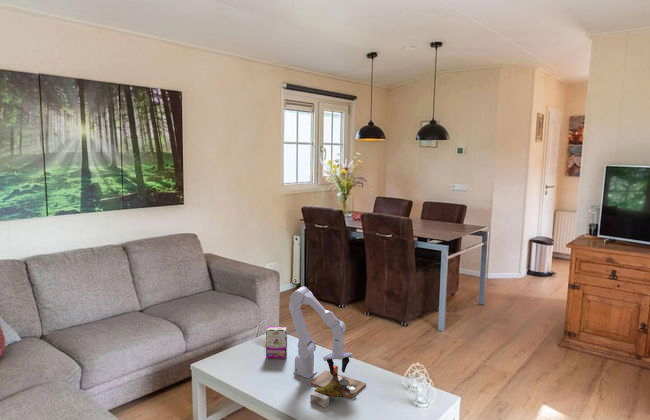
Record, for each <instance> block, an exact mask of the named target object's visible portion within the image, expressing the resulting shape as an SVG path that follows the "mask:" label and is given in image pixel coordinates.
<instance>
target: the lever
mask: <svg viewBox="0 0 650 420" xmlns="http://www.w3.org/2000/svg"><path fill="white" fill-rule="evenodd" d="M338 374H339V366H337V364H336V365H333V374H332V375H333V378H334V379H335V380H336V381H337V382H338V383H340V384H341V385H342V386H343V388H345V389H346V390H347V391H348V393H350V394H353V393H356V389H355V388H354V387H351V386H350V385H349V381H348V380H346V379H342V378H341V377H339V376H338Z"/></svg>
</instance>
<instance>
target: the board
mask: <svg viewBox="0 0 650 420" xmlns="http://www.w3.org/2000/svg"><path fill="white" fill-rule="evenodd" d="M338 376H339V377H341V378H342V379H346V380H348V381H349V385H350V386H351V387H354V388H355V389H356V393H353V394H350V393H348V391H347V390H346V389H345V388H343V392H342V394H341V396H342V397H345V398H346V399H350V400H351V399H353V397H354V396H356V395H357V394H359V392H361V391H362V390H363V389H364V388H365V387H366V386H367V383H366V382H363V381H361V380H357V379H355V378H351V377H349V376H345V375H342V374H340V373H338ZM334 382H337V381H336V380H335V379H334V378H333V375H332V374H331V373H330V370H324V371H323V372H321V373H320V374H318V375H317V376H316V377H314V378H313V379H311V380H310V381H309V383H308V384H309V385H310V386H313V387H315V388H319V387H322V386H326V385H328V384H330V383H334ZM337 383H338V382H337ZM309 399H310V404H314V405H317V406H319V407H322V408H324V409H327V407H329V406H330V398H329V396H326V395H323V394H320V393H318V392H315V390H314V391H313V392H311V393H310V398H309Z"/></svg>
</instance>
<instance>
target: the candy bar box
mask: <svg viewBox="0 0 650 420" xmlns="http://www.w3.org/2000/svg"><path fill="white" fill-rule="evenodd" d="M265 335H266V336H265V351H266V352H265V359H273V360H274V359H275V360H276V359H277V360H280V359H281V360H286V359H287V356H288V327H285V326H267V327H266V330H265Z"/></svg>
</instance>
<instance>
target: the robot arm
mask: <svg viewBox="0 0 650 420" xmlns="http://www.w3.org/2000/svg"><path fill="white" fill-rule="evenodd" d="M312 292H313V291H311V290H309V288H308V287H307V286H304V285H303V286H300V287H299V288H297V289H296V290H295V291H293V292H292V293H291V294H290V295H289V304H288V309H289V312H290V316H291V318H292V319H291V320H292V322H293V324H294V328H295V332H296V336H297V339H298V343H297V349H298V350H297V354H296V356H295V357H294V368H293V369H294V370H293V374H295V375H298V376H301V377H304V378H306V379H310V378H311V377H312V376H314V375H315V374H317V373H318V371H317V370H316V369H314V368H315V367H314V366H315V353H314V352H315V351H316V349H317V346H316V344H315V342H314V341H313V338H312V337H311V336H309V332H308V329H307V326H306V322H305V319H304V316H303V312H302V309H301V306H302V305H309V306H311V307H312V309H314V311H316V312H317V313H318V315H320V316H321V317H320V318H321V319H320V320H322V321H323V322H324V324H326V325H327V327H329V329H330V332H331V333H332V347H331V348H332V352H331V353H329V354H326V355H323V357H322V358H323V361H324V362H327V365H328V368H329V371H330V373H331V374H333V366H334V364H335V362H334V360H338V361H341V372H342V373H345V371H346V369H347V366H348V364H350V361H351V360H350V359H351V358H353V353H352V352H345V331H346V329H347V325H346V323H345V322H344V321H343V320H340V319H338V318H337V316H335V314H334V312H333V311H330V310H326V308H325V307H324V306H323V305H322V304H321V303H320V302H319V300H318V299H317V298H316V296H314V294H313V293H312Z"/></svg>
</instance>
